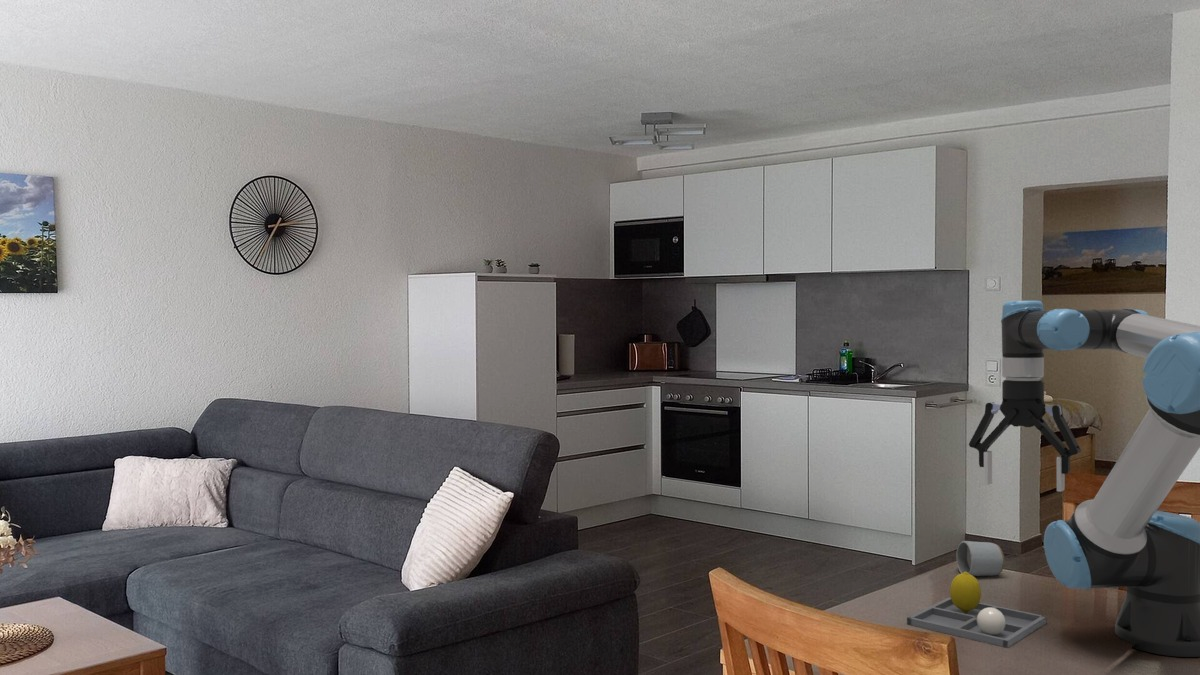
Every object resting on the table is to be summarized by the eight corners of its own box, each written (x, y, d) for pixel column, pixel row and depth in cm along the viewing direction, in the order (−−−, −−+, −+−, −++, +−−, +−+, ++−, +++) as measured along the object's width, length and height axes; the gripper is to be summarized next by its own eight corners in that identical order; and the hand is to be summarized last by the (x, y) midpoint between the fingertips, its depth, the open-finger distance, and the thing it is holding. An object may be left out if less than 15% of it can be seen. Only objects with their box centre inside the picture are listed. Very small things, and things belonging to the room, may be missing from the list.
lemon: (983, 618, 181) (984, 576, 181) (952, 616, 182) (953, 574, 182) (977, 609, 187) (978, 568, 186) (947, 607, 188) (948, 567, 187)
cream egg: (1009, 634, 172) (1010, 607, 172) (999, 641, 169) (999, 613, 169) (983, 628, 176) (983, 602, 176) (972, 634, 172) (972, 608, 172)
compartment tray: (1046, 628, 179) (1046, 616, 179) (1007, 653, 165) (1007, 640, 165) (950, 607, 191) (950, 596, 191) (907, 629, 178) (907, 617, 178)
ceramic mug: (1006, 578, 212) (1006, 544, 212) (971, 580, 211) (971, 545, 211) (982, 567, 222) (982, 534, 222) (948, 568, 222) (948, 535, 221)
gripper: (1097, 380, 184) (1097, 490, 184) (965, 376, 200) (966, 479, 200) (1087, 381, 178) (1088, 496, 179) (952, 378, 194) (953, 483, 195)
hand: (1023, 487), depth 189 cm, fingers open, 13 cm apart
